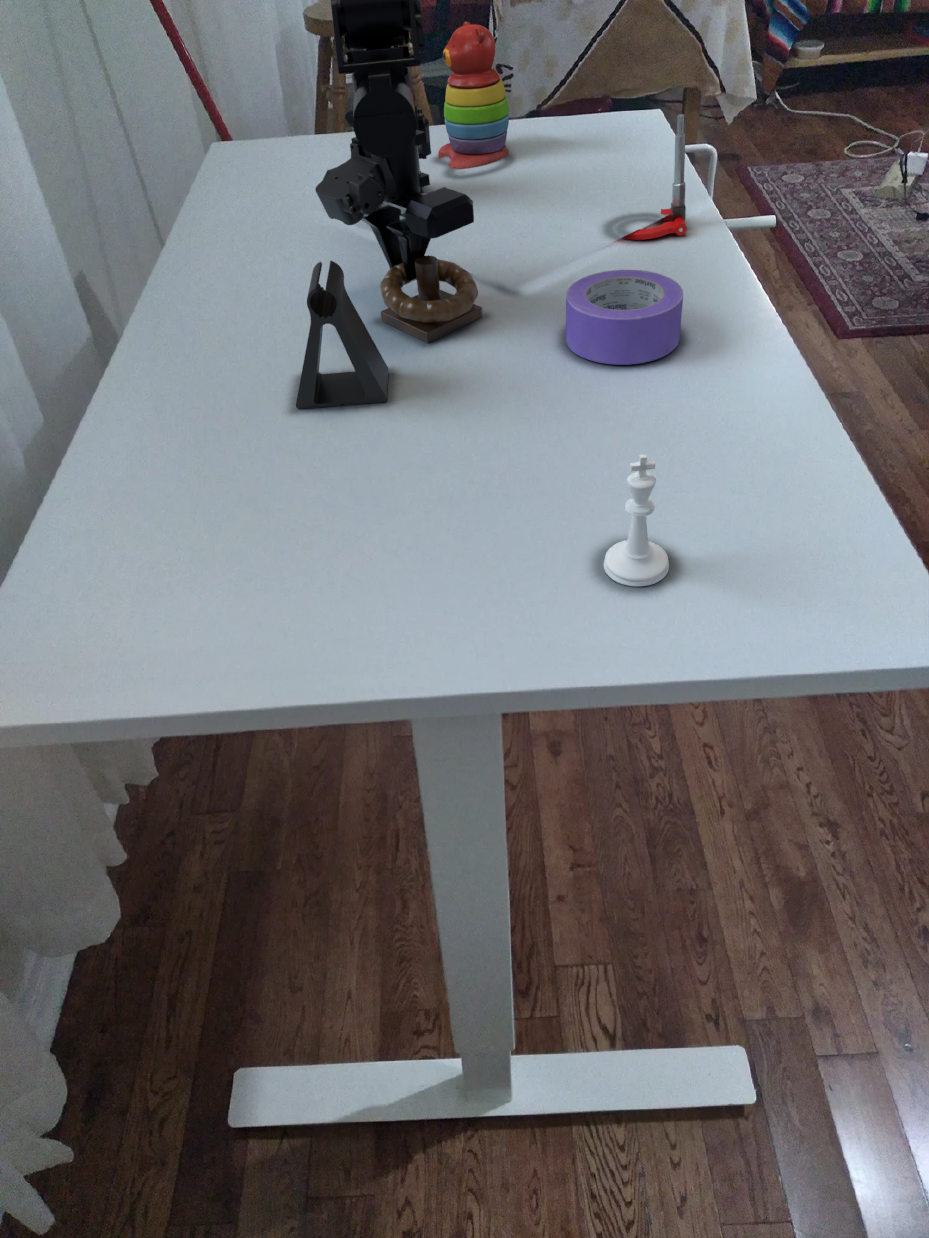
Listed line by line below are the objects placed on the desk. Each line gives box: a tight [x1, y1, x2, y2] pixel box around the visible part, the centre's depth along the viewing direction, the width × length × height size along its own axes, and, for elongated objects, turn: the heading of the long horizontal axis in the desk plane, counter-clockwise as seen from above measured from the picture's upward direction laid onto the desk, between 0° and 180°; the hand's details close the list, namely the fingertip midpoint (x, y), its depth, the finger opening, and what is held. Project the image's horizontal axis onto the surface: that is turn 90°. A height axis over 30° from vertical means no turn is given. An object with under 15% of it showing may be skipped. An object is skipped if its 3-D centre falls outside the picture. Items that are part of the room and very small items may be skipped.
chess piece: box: [603, 453, 670, 587], centre depth 71 cm, size 5×5×10 cm
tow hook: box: [621, 113, 688, 241], centre depth 117 cm, size 8×13×9 cm
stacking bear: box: [437, 21, 510, 170], centre depth 138 cm, size 11×10×18 cm
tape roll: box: [565, 269, 684, 366], centre depth 99 cm, size 12×12×5 cm
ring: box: [379, 258, 479, 323], centre depth 105 cm, size 10×10×2 cm
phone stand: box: [295, 260, 389, 410], centre depth 93 cm, size 9×6×12 cm, turn 91°
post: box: [380, 255, 483, 344], centre depth 105 cm, size 8×8×7 cm
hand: (404, 276), depth 107 cm, fingers closed on ring, 2 cm apart
